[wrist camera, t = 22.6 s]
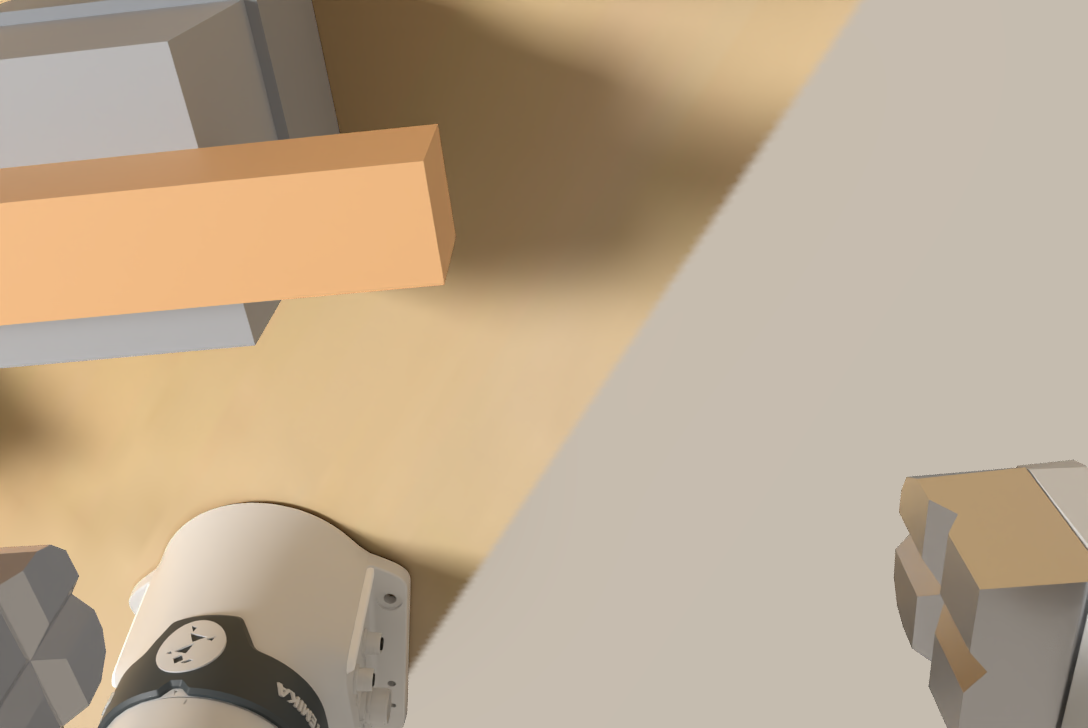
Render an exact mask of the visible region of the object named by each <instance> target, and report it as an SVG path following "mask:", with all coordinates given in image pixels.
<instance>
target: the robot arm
mask: <svg viewBox="0 0 1088 728" xmlns="http://www.w3.org/2000/svg"><path fill="white" fill-rule="evenodd" d="M899 513H900V515H901V516H902V519H903V521H904V523H905V525H906V527H907V529H908V531H909V533H910V534H909V535H908V536H907V537H906V539H905V540H904V541H903V542H902V543H901V544H900V545H899V546H898V547H897V548H896V550H895V568H894V582H895V591H896V600H897V606H898V610H899V614H900V617H901V621H902V624H903V627H904V630H905V632H906V635H907V637H908V640H909V642H910V644H911V647H912V649H914V650H915V651H917V652H918V653H920V654H921V655H923V656H924V657H925V658H927V659H928V660H930V661H931V671H930V680H929V688H930V690H931V693H932V695H933V697H934V699H935V701H936V704H937V706H938V708H939V710H940V713H941V715H942V717H943V719H944V722H945V724H946V726H947V728H1088V468H1087V467H1086V466H1085V465H1083V464H1081V463H1079V462H1077V461H1075V460H1068V461H1058V462H1048V463H1040V464H1030V465H1020V466H1017V467H1016V468H1007V469H995V470H983V471H971V472H959V473H948V474H937V475H936V474H935V475H924V476H912V477H906V480H905V483H904V485H903V488H902V490H901V500H900V509H899ZM78 577H79V575H78V573H77V571H76V569H75V567H74V565H73V563H72V561H71V560H70V558H69V556H68V554H67V552H66V550H63V549H61V548H58V547H55V546H53V545H38V546H20V547H3V548H0V728H64V727H63V726H64V725H65V724H66V723H68V722H69V721H70V720H71V719H73V718H74V717H75V716H76V715H78V714H79V713H80V712H81V711H83V710H84V709H85V708H86V707H88V706H89V704H90V702H91V700H92V698H93V696H94V694H95V692H96V690H97V688H98V686H99V684H100V682H101V679H102V672H103V666H104V660H105V654H106V649H105V642H104V636H103V629H102V627H101V624H100V622H99V620H98V617H97V615H96V613H95V610H94V609H92V608H91V607H89V606H88V605H87V604H85V603H84V602H82V601H81V600H79V599H78V598H77V597H75V596H74V595H72V592H73V589H74V587H75V585H76V582H77V580H78ZM410 586H411V579H410V575H409V573H408V571H407V570H406V569H405V568H403V567H402V566H400V565H398V564H396V563H394V562H392V561H390V560H387V559H385V558H382V557H380V556H377V555H374V554H371V553H369V552H367V551H366V550H364V549H363V548H362V547H360V546H359V545H358V544H356V543H355V542H354V541H353V540H352V539H351V538H349V537H348V536H347V535H346V534H345V533H343V532H342V531H340V530H339V529H338V528H336V527H335V526H333V525H331V524H330V523H328V522H326V521H324V520H323V519H321V518H319V517H316V516H314V515H312V514H309V513H307V512H304V511H301V510H298V509H294V508H291V507H286V506H281V505H276V504H268V503H240V504H232V505H226V506H222V507H218V508H215V509H212V510H209V511H207V512H204V513H202V514H200V515H198V516H196V517H195V518H193V519H191V520H190V521H189V522H187V523H186V524H185V525H183V526H182V527H181V528H180V529H179V530H178V531H177V532H176V533H175V535H174V536H173V537H172V538H171V540H170V541H169V543H168V545H167V547H166V549H165V552H164V554H163V557H162V559H161V561H160V563H159V565H158V566H157V568H156V569H155V570H154V571H152V572H151V573H149V574H148V575H147V576H145V577H144V578H143V579H142V580H140V581H139V582H138V583H137V584H136V585H135V587H134V589H133V591H132V594H131V596H130V599H129V605H130V608H131V610H132V611H133V612H134V614H135V615H136V616H135V618H134V621H133V623H132V625H131V628H130V630H129V633H128V635H127V638H126V641H125V643H124V646H123V648H122V651H121V653H120V656H119V658H118V661H117V664H116V666H115V669H114V672H113V675H112V685H113V687H115V688H116V690H115V692H113V693H112V694H111V696H110V698H109V700H108V702H107V704H106V706H105V708H104V710H103V713H102V718H101V720H100V724H99V726H98V728H402V727H403V725H404V723H405V719H406V715H407V701H408V663H409V625H410ZM387 594H392V595H394V596H389V595H387Z"/></svg>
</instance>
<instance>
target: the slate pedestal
mask: <svg viewBox="0 0 1088 728" xmlns="http://www.w3.org/2000/svg"><path fill="white" fill-rule="evenodd" d="M333 134H340V131H339V126H338V122H337V117H336V112H335V108H334V103H333V98H332V94H331V89H330V84H329V79H328V75H327V70H326V65H325V61H324V56H323V51H322V47H321V42H320V37H319V32H318V28H317V23H316V18H315V14H314V9H313V4H312V0H11V1H8V2H5V3H2V4H0V168H10V167H19V166H29V165H39V164H49V163H59V162H68V161H78V160H88V159H98V158H108V157H117V156H127V155H137V154H147V153H157V152H166V151H176V150H186V149H196V148H206V147H215V146H225V145H235V144H245V143H255V142H264V141H274V140H284V139H294V138H304V137H313V136H323V135H333ZM280 301H281V300H273V301H262V302H251V303H240V304H229V305H218V306H208V307H197V308H186V309H175V310H164V311H153V312H142V313H131V314H120V315H110V316H99V317H88V318H77V319H66V320H55V321H44V322H33V323H22V324H12V325H1V326H0V368H9V367H20V366H31V365H42V364H53V363H64V362H76V361H87V360H98V359H109V358H120V357H131V356H142V355H153V354H164V353H175V352H186V351H198V350H209V349H220V348H231V347H242V346H253V345H256V343H257V341H258V340H259V338H260V336H261V334H262V333H263V331H264V329H265V327H266V326H267V324H268V322H269V320H270V319H271V317H272V315H273V313H274V312H275V310H276V308H277V307H278V305H279V303H280Z"/></svg>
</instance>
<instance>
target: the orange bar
mask: <svg viewBox="0 0 1088 728" xmlns="http://www.w3.org/2000/svg"><path fill="white" fill-rule="evenodd" d="M455 238H456V234H455V228H454V222H453V216H452V209H451V203H450V197H449V191H448V184H447V178H446V172H445V166H444V159H443V153H442V147H441V141H440V134H439V128H438V124H431V125H421V126H411V127H402V128H392V129H382V130H372V131H362V132H353V133H343V134H333V135H323V136H313V137H304V138H294V139H284V140H274V141H264V142H255V143H245V144H235V145H225V146H215V147H206V148H196V149H186V150H176V151H166V152H157V153H147V154H137V155H127V156H117V157H108V158H98V159H88V160H78V161H68V162H59V163H49V164H39V165H29V166H19V167H10V168H0V326H1V325H12V324H22V323H33V322H44V321H55V320H66V319H77V318H88V317H99V316H110V315H120V314H131V313H142V312H153V311H164V310H175V309H186V308H197V307H208V306H218V305H229V304H240V303H251V302H262V301H273V300H284V299H295V298H306V297H316V296H327V295H338V294H349V293H360V292H371V291H382V290H393V289H404V288H414V287H425V286H436V285H444V284H445V280H446V276H447V272H448V268H449V264H450V259H451V255H452V251H453V247H454V243H455Z"/></svg>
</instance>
